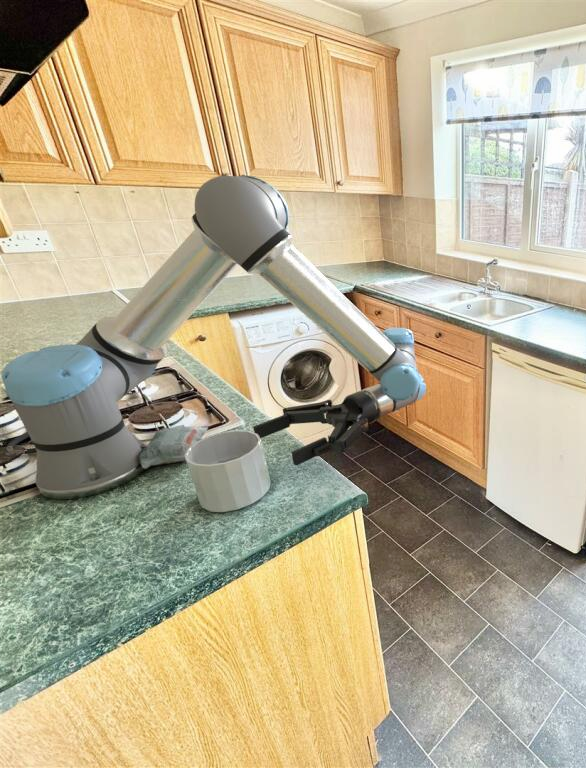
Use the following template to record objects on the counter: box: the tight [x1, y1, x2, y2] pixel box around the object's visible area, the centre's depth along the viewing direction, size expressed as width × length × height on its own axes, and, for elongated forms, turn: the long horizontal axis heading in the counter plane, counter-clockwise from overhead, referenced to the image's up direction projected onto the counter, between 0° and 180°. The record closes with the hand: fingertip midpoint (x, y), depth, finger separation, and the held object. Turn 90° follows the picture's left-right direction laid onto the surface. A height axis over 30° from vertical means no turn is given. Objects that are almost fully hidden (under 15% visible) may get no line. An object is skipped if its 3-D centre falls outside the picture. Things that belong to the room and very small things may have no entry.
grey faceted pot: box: [184, 429, 272, 513], centre depth 73 cm, size 11×11×10 cm
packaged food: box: [139, 424, 209, 470], centre depth 83 cm, size 9×12×5 cm
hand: (273, 445), depth 79 cm, fingers open, 13 cm apart
